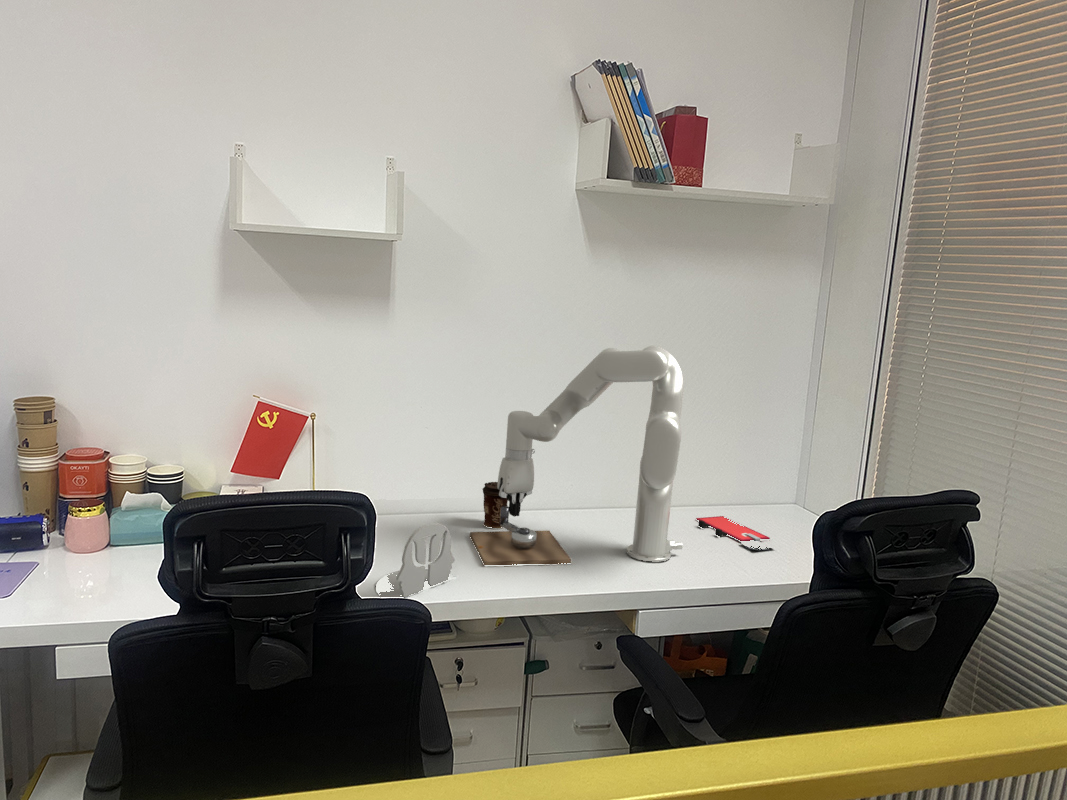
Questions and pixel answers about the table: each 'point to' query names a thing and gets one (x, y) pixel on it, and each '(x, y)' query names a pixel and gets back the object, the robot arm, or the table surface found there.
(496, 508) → the coffee cup
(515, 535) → the grey crank handle
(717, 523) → the red board with handle
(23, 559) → the table surface
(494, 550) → the board
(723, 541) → the table surface
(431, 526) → the ornament
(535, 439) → the robot arm
